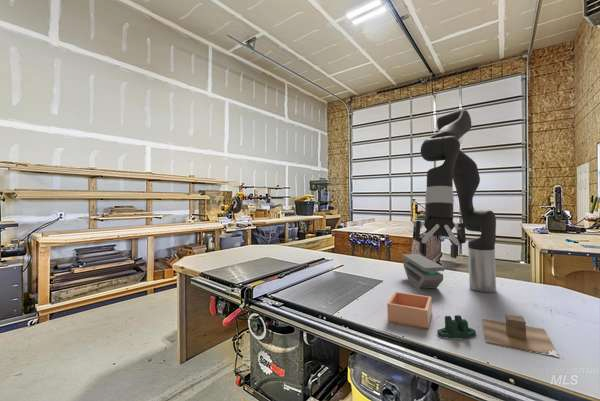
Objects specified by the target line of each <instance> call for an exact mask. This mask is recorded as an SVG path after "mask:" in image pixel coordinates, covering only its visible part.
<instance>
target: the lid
mask: <svg viewBox="0 0 600 401" xmlns="http://www.w3.org/2000/svg"><path fill="white" fill-rule="evenodd" d="M482 326H483V333H484V334H483V335H484V341H486V342H485V343H486V344H491V345H494V346H495V345H496V346H499V345H501V346H500V347H504V346H506V348H509V347H511V348H510V349H514V348H516V349H515V350H519V349H521V350H520V351H524V350H527V351H526V352H528V351H532V352H531V353H533V352H538V353H545V354H549V351H551V352H552V350H554V349H556V348H555V346H554V344H553V342H552V341H551V339H550V337H549V336H548V333H547V332H546V330H545V328H541V327H534V326H528V325H526V320H525V317H524V315H518V314H511V313H505V321H504V322H503V321H499V320H493V319H486V318H482ZM538 353H537V354H538Z"/></svg>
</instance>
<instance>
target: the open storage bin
mask: <svg viewBox="0 0 600 401" xmlns="http://www.w3.org/2000/svg"><path fill="white" fill-rule="evenodd" d="M432 302H433V300H432V296H429V295H423V294H422V295H421V294H414V293H407V292H403V291H401V292H400V291H394V293H393V294H392V296H391V297H390V298H389V300H388V302H387V303H386V306H387V322H388V321H389V322H388V323H392V322H394V323H393V324H397V323H399V324H398V325H402V324H404V325H403V326H407V325H409V326H408V327H411V326H413V327H412V328H416V327H418V328H417V329H421V328H422V330H426V329H428V330H429V327H430V323H431V319H432V315H433V304H432Z"/></svg>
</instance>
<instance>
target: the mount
mask: <svg viewBox="0 0 600 401" xmlns="http://www.w3.org/2000/svg"><path fill="white" fill-rule="evenodd" d="M437 334H438V335H439V336H438V335H437ZM437 334H436V335H437V336H438V337H440V336H441V337H440V338H443V337H448V338H447V339H450V338H462V339H470V338H473V337H475V335H477V332H476V330H475V329H474V328H470V327H469V322H468V320H466V319H464V318H462V316H461V315H459V314H456V315H454V319H453V318H452V316H451V315H445V316H444V327H442V328H440V329H437Z"/></svg>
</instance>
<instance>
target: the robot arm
mask: <svg viewBox="0 0 600 401" xmlns="http://www.w3.org/2000/svg"><path fill="white" fill-rule="evenodd" d="M436 128H437V133H436V134H434V135H431V136H429V137H427V138H426V139H424V140H423V142H422V144H421V147H420V154H421V157H422V159H423V160H425V161H427V162H440V161H444V162H442V164H441V165H439V166H436V167H433V168H430V169H428V170H427V172H426V189H425V190H426V191H425V201H424V202H425V206H424V208H425V211H424V215H425V216H424V217H425V218H424V220H423V221H421V220H414V222H413V231H412V240H413V241H416V242H417V243H418V245H419V246H418V248H419V249H418V253H419V255H421V256H423V257H427V242H428V240H429V239H430V238H432V237H443V238H446V239H447V240H448V241H449V242H450V258H452V259H457V257H458V256H459V246H460V245H461V244H466V242H467V241H466V236H467V235H466V230H467V231H468V232H477V233H480V236H479V237H478V238H474V239H469V240H468V242H467V248H468V252H467V253H468V254H467V255H468V275H469V278H468V279H469V280H468V282H469V289H471V290H473V291H475V292H481V293H494V292H497V280H496V277H497V275H496V254H495V253H496V250H495V249H496V248H495V247H496V235H497V234H496V232H497V219H496V218H497V217H496V215H495V212H494V211H493V210H488V209H475V208H474V204H473V202H474V199H473V198H474V197H475V196H474V195H475V193H476V191H477V189H478V188H479V186H480V182H481V177H480V173H479V168H478V165H477V163H476V162H475V161H474V160H473V159H472V158H471V157H470V156H468V154H466V153H465V152H464V151H462V150H461V143H460V139H461V138H462V137H463V136H464V135H465V134H467V133H469V132H470V130H471V128H472V118H471V115H470V113H469V111H468V110H466V109H464V108H463V109H462V108H461V109H457V110H455V111H451V112H449V113H445V114H442V115H440V116H438V117H437V119H436ZM453 184H454V187H455V189H456V190H455V191H456V195H457V198H458V202H459V208H460V215H461V221H462V222H457V223H455V222H454V203H455V199H454V198H455V197H454V196H455V195H454V190H453ZM423 226H424V228H425V229H426V230H425V231H424V232H423V233H422V235H421V229H422V228H423ZM453 229H455V230H456V235H455V233H454V232H453V231H452V230H453Z"/></svg>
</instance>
